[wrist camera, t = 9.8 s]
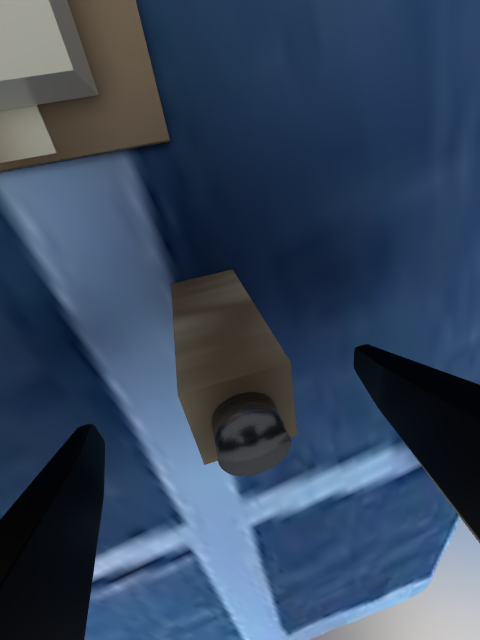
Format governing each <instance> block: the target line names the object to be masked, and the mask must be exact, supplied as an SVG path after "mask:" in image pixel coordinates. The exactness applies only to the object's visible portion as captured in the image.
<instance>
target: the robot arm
mask: <svg viewBox="0 0 480 640" xmlns="http://www.w3.org/2000/svg"><path fill="white" fill-rule="evenodd" d="M354 369H355V371H356V373H357V375H358V376H359V378H360V380H361V381H362V383H363V384H364V386H365V388H366V389H367V391H368V393H369V394H370V396H371V397H372V399H373V401H374V402H375V404H376V405H377V407H378V408H379V410H380V411H381V412H382V414H383V415H384V416H385V418H386V419H387V420H388V421H389V423H390V424H391V425H392V427H393V428H394V429H395V431H396V432H397V433H398V434H399V436H400V437H401V438H402V440H403V441H404V442H405V444H406V445H407V446H408V447H409V449H410V450H411V451H412V453H413V454H414V455H415V456H416V458H417V459H418V460H419V462H420V463H421V464H422V466H423V467H424V468H425V469H426V471H427V472H428V473H429V475H430V476H431V477H432V479H433V480H434V481H435V482H436V484H437V485H438V486H439V488H440V489H441V490H442V492H443V493H444V494H445V495H446V497H447V498H448V499H449V501H450V502H451V503H452V504H453V506H454V507H455V508H456V510H457V511H458V512H459V514H460V515H461V516H462V517H463V519H464V520H465V521H466V523H467V524H468V525H469V527H470V528H471V529H472V530H473V532H474V533H475V534H476V536H477V537H478V538H479V540H480V385H479V384H476V383H473V382H470V381H468V380H465V379H462V378H459V377H457V376H454V375H451V374H448V373H445V372H443V371H440V370H437V369H434V368H432V367H429V366H426V365H423V364H421V363H418V362H415V361H412V360H409V359H407V358H404V357H401V356H398V355H396V354H393V353H390V352H387V351H385V350H382V349H379V348H376V347H374V346H371V345H368V344H365V345H361V346H358V347H356V348H355V351H354ZM104 477H105V441H104V439H103V437H102V436H101V434H100V433H99V431H98V429H97V428H96V426H95V425H94V424H87V425H83V426H80V427H78V428H77V429H76V430H75V432H74V433H73V434H72V435H71V436H70V438H69V439H68V440H67V441H66V442H65V443H64V445H63V446H62V447H61V448H60V449H59V451H58V452H57V453H56V454H55V455H54V457H53V458H52V459H51V460H50V461H49V462H48V464H47V465H46V466H45V467H44V468H43V470H42V471H41V472H40V473H39V474H38V476H37V477H36V478H35V479H34V480H33V481H32V483H31V484H30V485H29V486H28V487H27V489H26V490H25V491H24V492H23V493H22V495H21V496H20V497H19V498H18V499H17V500H16V502H15V503H14V504H13V505H12V506H11V508H10V509H9V510H8V511H7V512H6V514H5V515H4V516H3V517H2V518H1V519H0V640H84V637H85V630H86V622H87V615H88V608H89V601H90V593H91V586H92V579H93V571H94V564H95V557H96V550H97V542H98V535H99V528H100V520H101V513H102V506H103V497H104Z"/></svg>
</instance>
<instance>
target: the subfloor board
mask: <svg viewBox="0 0 480 640" xmlns="http://www.w3.org/2000/svg"><path fill="white" fill-rule="evenodd" d="M67 1H68V4H69V7H70V10H71V13H72V16H73V19H74V22H75V25H76V28H77V31H78V34H79V37H80V40H81V43H82V46H83V49H84V52H85V55H86V58H87V61H88V64H89V67H90V70H91V73H92V76H93V79H94V82H95V85H96V88H97V91H98V94H99V95H96V96H90V97H83V98H77V99H71V100H64V101H58V102H52V103H45V104H39V105H33V106H26V107H20V108H14V109H8V110H1V111H0V173H1V172H7V171H12V170H18V169H23V168H29V167H34V166H40V165H45V164H51V163H56V162H62V161H67V160H73V159H78V158H84V157H89V156H95V155H100V154H106V153H111V152H117V151H122V150H128V149H133V148H139V147H144V146H150V145H155V144H161V143H166V142H169V141H170V139H169V135H168V131H167V126H166V122H165V118H164V114H163V110H162V106H161V102H160V98H159V94H158V90H157V86H156V81H155V77H154V73H153V69H152V65H151V61H150V57H149V53H148V49H147V45H146V41H145V36H144V32H143V28H142V24H141V20H140V16H139V12H138V8H137V4H136V0H67Z"/></svg>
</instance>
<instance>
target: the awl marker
mask: <svg viewBox="0 0 480 640" xmlns="http://www.w3.org/2000/svg"><path fill="white" fill-rule="evenodd" d="M171 289H172V306H173V323H174V339H175V356H176V373H177V389H178V396H179V399H180V402H181V404H182V407H183V410H184V412H185V415H186V417H187V420H188V423H189V425H190V428H191V431H192V433H193V436H194V438H195V441H196V444H197V446H198V449H199V452H200V454H201V457H202V459H203V462H204V465H205V464H208V463H211V462H215V461H218V462H219V465H220V467H221V468H222V469H223V470H224V471H225V472H227V473H229V474H232V475H236V476H250V475H255V474H259V473H262V472H264V471H267V470H269V469H270V468H272V467H274V466H275V465H277V464H278V463H279V462H280V461H281V460H282V459H283V458H284V457H285V456H286V454H287V453H288V451H289V448H290V444H291V440H290V437H293V436H297V427H296V416H295V405H294V393H293V382H292V371H291V362H290V360H289V359H288V357H287V356H286V354H285V352H284V351H283V349H282V348H281V346H280V344H279V343H278V341H277V340H276V338H275V336H274V335H273V333H272V332H271V330H270V328H269V327H268V325H267V324H266V322H265V320H264V319H263V317H262V316H261V314H260V312H259V311H258V309H257V308H256V306H255V304H254V303H253V301H252V300H251V298H250V296H249V295H248V293H247V292H246V290H245V288H244V287H243V285H242V284H241V282H240V280H239V279H238V277H237V276H236V274H235V272H234V271H233V269H231V270H227V271H223V272H219V273H214V274H210V275H206V276H202V277H198V278H194V279H189V280H185V281H181V282H177V283H173V284H171Z"/></svg>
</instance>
